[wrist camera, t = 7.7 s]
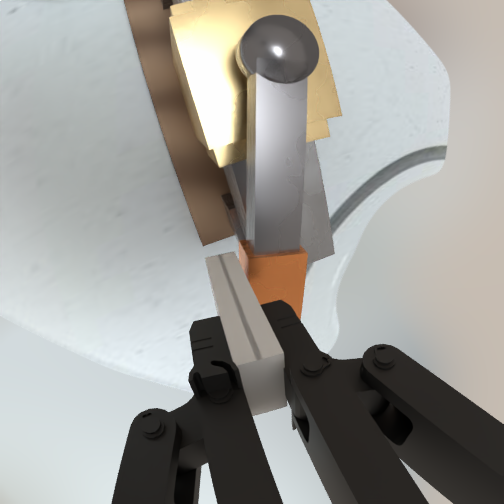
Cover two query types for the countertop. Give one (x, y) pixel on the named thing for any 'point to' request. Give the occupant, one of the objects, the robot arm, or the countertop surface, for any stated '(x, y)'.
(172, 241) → the countertop surface
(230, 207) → the valve
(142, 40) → the base board
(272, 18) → the valve lever
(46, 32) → the countertop surface
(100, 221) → the countertop surface
